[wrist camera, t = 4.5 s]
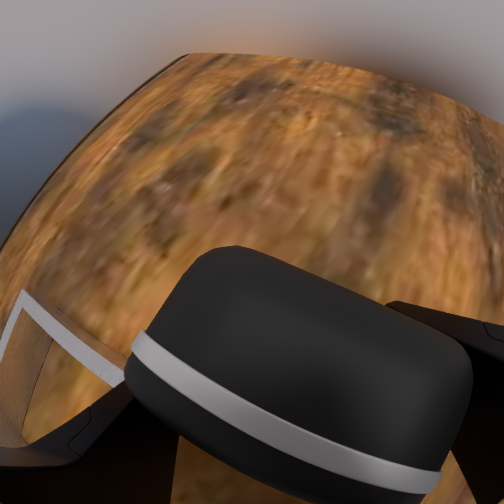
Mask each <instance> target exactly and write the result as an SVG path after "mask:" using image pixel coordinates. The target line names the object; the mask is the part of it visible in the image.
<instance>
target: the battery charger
mask: <svg viewBox="0 0 504 504" xmlns="http://www.w3.org/2000/svg"><path fill="white" fill-rule="evenodd" d="M131 350H132V351H133V352H132V354H131V355H130V357H129V358H128V360H127V362H126V365H125V367H124V379H125V382H126V385H127V387H128V388H129V390H130V392H131V393H132V394H133V395H134V396H135V398H136V399H137V400H138V401H139V402H140V403H141V404H142V405H143V406H144V407H145V408H146V409H147V410H148V411H150V412H151V413H152V414H153V415H154V416H156V417H157V418H158V419H159V420H160V421H162V422H163V423H164V424H166V425H167V426H168V427H170V428H171V429H172V430H174V431H175V432H177V433H178V434H179V435H181V436H182V437H184V438H185V439H187V440H188V441H190V442H191V443H193V444H194V445H196V446H197V447H199V448H200V449H202V450H204V451H205V452H207V453H208V454H210V455H212V456H213V457H215V458H217V459H218V460H220V461H222V462H223V463H225V464H227V465H229V466H230V467H232V468H234V469H236V470H238V471H240V472H241V473H243V474H245V475H247V476H249V477H251V478H253V479H255V480H257V481H259V482H261V483H264V484H266V485H268V486H270V487H273V488H275V489H277V490H280V491H282V492H284V493H287V494H289V495H292V496H294V497H297V498H300V499H302V500H305V501H308V502H311V503H314V504H420V503H421V501H422V500H423V498H424V497H425V495H426V494H427V493H431V492H432V491H433V490H434V488H435V486H436V484H437V483H438V481H439V479H440V477H441V476H442V474H443V472H442V471H441V470H440V469H441V467H442V465H443V463H444V461H445V459H446V457H447V455H448V453H449V451H450V449H451V447H452V445H453V442H454V440H455V438H456V436H457V433H458V431H459V429H460V426H461V424H462V421H463V419H464V416H465V413H466V411H467V408H468V405H469V401H470V397H471V393H472V388H473V383H474V379H473V370H472V364H471V360H470V357H469V356H468V354H467V353H466V351H465V350H464V348H463V346H462V345H460V344H459V343H458V342H457V341H455V340H454V339H453V338H451V337H449V336H447V335H445V334H443V333H442V332H440V331H438V330H436V329H434V328H432V327H430V326H427V325H425V324H423V323H421V322H419V321H417V320H414V319H412V318H410V317H408V316H406V315H404V314H401V313H399V312H397V311H395V310H393V309H391V308H388V307H386V306H384V305H382V304H380V303H377V302H375V301H373V300H371V299H369V298H367V297H364V296H362V295H360V294H358V293H356V292H353V291H351V290H349V289H346V288H344V287H342V286H339V285H337V284H335V283H332V282H330V281H328V280H326V279H323V278H321V277H319V276H316V275H314V274H312V273H309V272H307V271H305V270H302V269H300V268H298V267H295V266H293V265H291V264H288V263H286V262H284V261H281V260H279V259H277V258H274V257H272V256H269V255H267V254H264V253H262V252H259V251H256V250H253V249H250V248H246V247H241V246H237V245H236V246H227V247H220V248H215V249H212V250H210V251H208V252H207V253H205V254H203V255H201V256H200V257H198V258H197V259H196V260H195V262H194V263H193V264H192V265H191V266H190V267H189V268H188V270H187V271H186V272H185V273H184V274H183V276H182V277H181V279H180V280H179V282H178V283H177V285H176V286H175V288H174V289H173V290H172V292H171V293H170V295H169V296H168V298H167V299H166V301H165V302H164V304H163V305H162V307H161V308H160V310H159V312H158V313H157V315H156V316H155V318H154V319H153V321H152V322H151V324H150V325H149V327H148V328H147V330H144V329H142V330H141V331H140V332H139V334H138V335H137V337H136V338H135V340H134V342H133V343H132V345H131Z"/></svg>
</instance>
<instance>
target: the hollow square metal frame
mask: <svg viewBox="0 0 504 504" xmlns="http://www.w3.org/2000/svg"><path fill="white" fill-rule="evenodd" d="M53 339H54V340H56V341H57V342H58V343H59V344H60V345H61V346H62V347H63V348H64V349H66V350H67V351H68V352H69V353H70V354H71V355H72V356H74V357H75V358H76V359H77V360H78V361H80V362H81V363H82V364H83V365H84V366H86V367H87V368H88V369H89V370H91V371H92V372H93V373H94V374H96V375H97V376H98V377H100V378H101V379H102V380H104V381H105V382H106V383H108V384H109V385H110V386H112V387H113V388H114V387H115V386H117V385H118V384H119V383H121V382H122V381H123V380H125V379H124V367H125V365H126V362H127V359H126V358H124V357H123V356H121V355H120V354H118V353H117V352H115V351H114V350H112V349H111V348H109V347H108V346H106V345H105V344H103V343H102V342H101V341H99V340H98V339H96V338H95V337H94V336H92V335H91V334H89V333H88V332H87V331H85V330H84V329H83V328H81V327H80V326H79V325H77V324H76V323H75V322H74V321H72V320H71V319H70V318H68V317H67V316H66V315H65V314H63V313H62V312H61V311H60V310H59V309H57V308H55V307H53V306H52V305H50V304H48V303H46V302H45V301H43V300H41V299H39V298H38V297H36V296H34V295H33V294H31V293H29V292H28V291H26V290H24V289H22V291H21V293H20V295H19V297H18V299H17V301H16V304H15V306H14V308H13V310H12V313H11V315H10V317H9V320H8V322H7V325H6V327H5V330H4V332H3V335H2V338H1V341H0V446H2V447H10V448H19V447H24V446H27V445H28V444H27V443H26V442H25V440H24V439H23V438H22V437H21V435H20V433H21V429H22V426H23V422H24V418H25V415H26V411H27V408H28V405H29V402H30V399H31V395H32V392H33V389H34V387H35V384H36V381H37V378H38V375H39V373H40V370H41V367H42V365H43V362H44V360H45V357H46V355H47V352H48V350H49V347H50V345H51V343H52V340H53Z"/></svg>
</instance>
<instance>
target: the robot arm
mask: <svg viewBox="0 0 504 504" xmlns="http://www.w3.org/2000/svg"><path fill="white" fill-rule="evenodd" d="M385 306H386V307H388V308H391V309H393V310H395V311H397V312H399V313H401V314H404V315H406V316H408V317H410V318H412V319H414V320H417V321H419V322H421V323H423V324H425V325H427V326H430V327H432V328H434V329H436V330H438V331H440V332H442V333H443V334H445V335H447V336H449V337H451V338H453V339H454V340H455V341H457V342H458V343H459V344H460V345H462V346H463V348H464V350H465V351H466V353H467V354H468V356H469V357H470V360H471V364H472V370H473V379H474V383H473V388H472V393H471V397H470V401H469V405H468V408H467V411H466V413H465V416H464V419H463V421H462V424H461V426H460V429H459V431H458V433H457V436H456V438H455V440H454V442H453V445H452V447H451V449H450V450H451V451H452V453H453V455H454V457H455V459H456V461H457V463H458V465H459V467H460V469H461V471H462V473H463V475H464V477H465V479H466V482H467V484H468V486H469V488H470V490H471V492H472V494H473V496H474V499H475V501H476V503H477V504H499V503H501V502H502V501H503V500H504V326H502V325H497V324H492V323H488V322H482V321H479V320H475V319H471V318H467V317H462V316H458V315H454V314H450V313H446V312H442V311H438V310H433V309H429V308H425V307H421V306H417V305H413V304H409V303H405V302H401V301H393V302H390V303H387V304H386V305H385ZM178 440H179V434H178V433H177V432H175V431H174V430H172V429H171V428H170V427H168V426H167V425H166V424H164V423H163V422H162V421H160V420H159V419H158V418H157V417H156V416H154V415H153V414H152V413H151V412H150V411H148V410H147V409H146V408H145V407H144V406H143V405H142V404H141V403H140V402H139V401H138V400H137V399H136V398H135V396H134V395H133V394H132V393H131V392H130V390H129V388H128V387H127V385H126V382H125V380H123V381H122V382H121V383H119V384H118V385H117V386H115V387H114V388H113V389H111V390H110V391H109V392H108V393H106V394H105V395H104V396H102V397H101V398H100V399H98V400H97V401H96V402H94V403H93V404H92V405H91V406H89V407H87V408H86V409H85V410H83V411H82V412H81V413H79V414H78V415H76V416H75V417H74V418H72V419H71V420H69V421H68V422H66V423H65V424H63V425H61V426H60V427H58V428H57V429H55V430H53V431H52V432H50V433H48V434H47V435H45V436H43V437H42V438H40V439H38V440H37V441H35V442H33V443H32V444H30V445H27V446H24V447H19V448H10V447H2V446H0V504H170V499H171V491H172V483H173V476H174V468H175V461H176V454H177V447H178Z"/></svg>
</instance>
